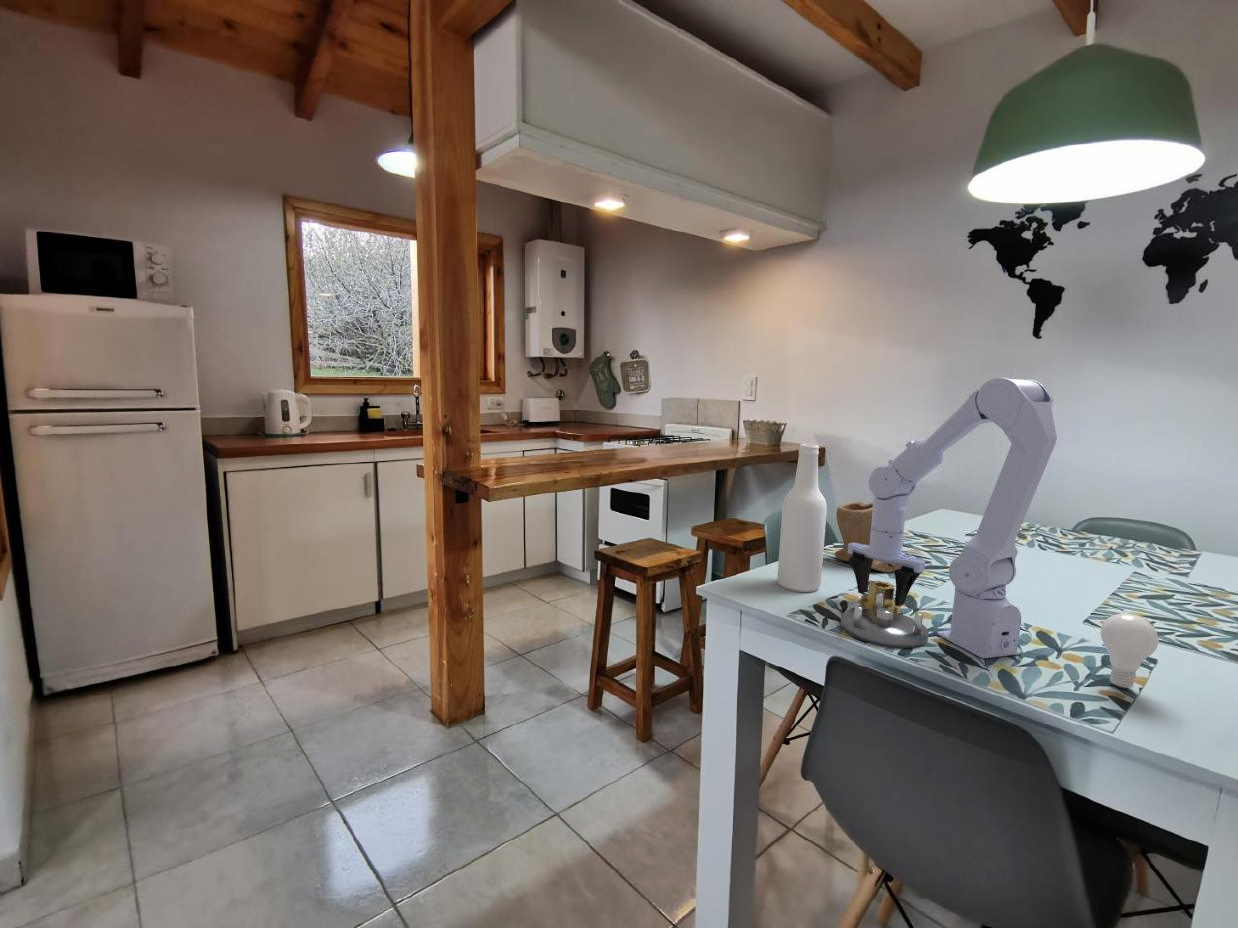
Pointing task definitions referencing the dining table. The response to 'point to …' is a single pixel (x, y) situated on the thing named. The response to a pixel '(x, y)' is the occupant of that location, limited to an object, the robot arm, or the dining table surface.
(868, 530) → the stone cup
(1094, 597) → the dining table surface
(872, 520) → the robot arm
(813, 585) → the alcohol
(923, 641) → the carrier
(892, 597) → the planet gear
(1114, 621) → the lightbulb
